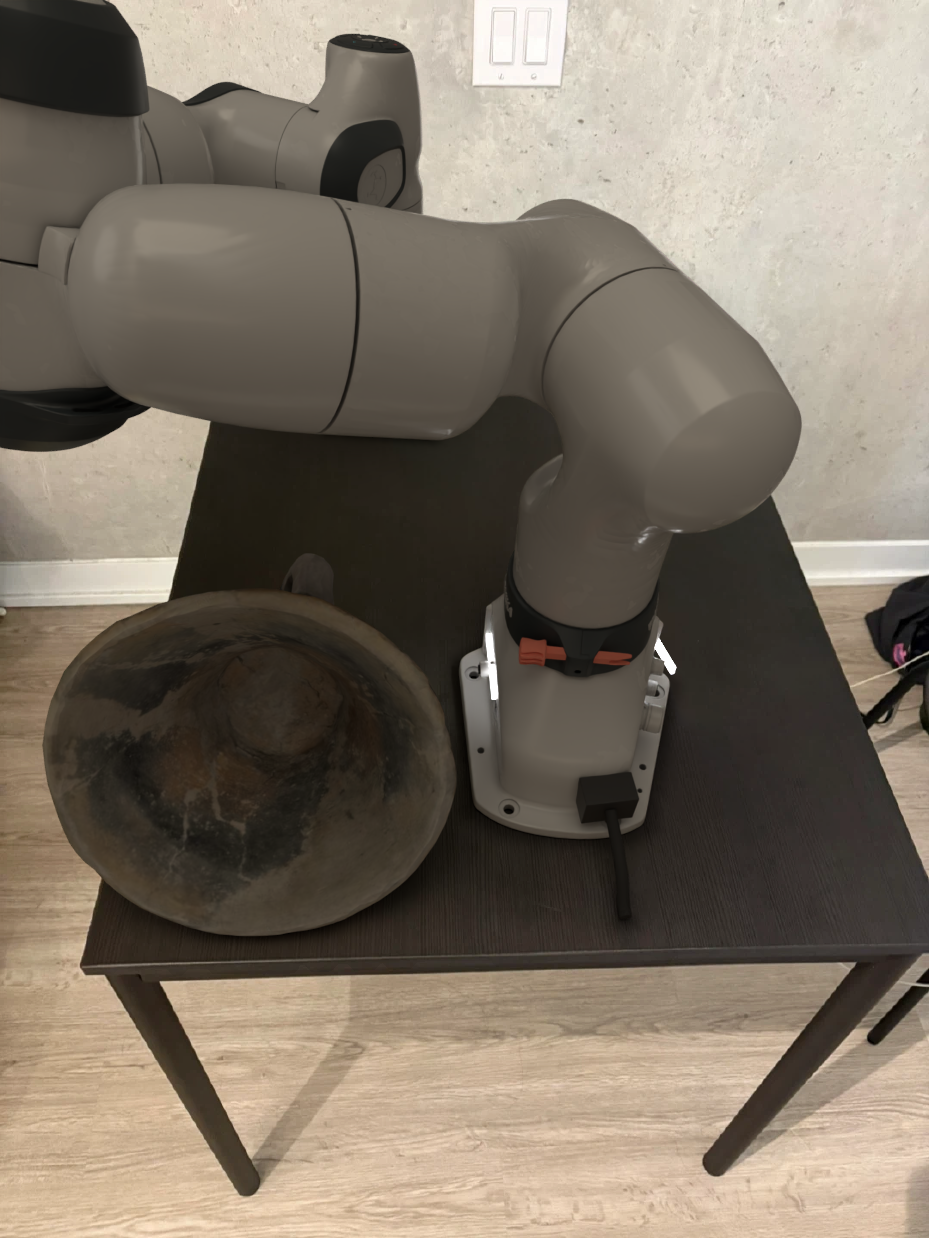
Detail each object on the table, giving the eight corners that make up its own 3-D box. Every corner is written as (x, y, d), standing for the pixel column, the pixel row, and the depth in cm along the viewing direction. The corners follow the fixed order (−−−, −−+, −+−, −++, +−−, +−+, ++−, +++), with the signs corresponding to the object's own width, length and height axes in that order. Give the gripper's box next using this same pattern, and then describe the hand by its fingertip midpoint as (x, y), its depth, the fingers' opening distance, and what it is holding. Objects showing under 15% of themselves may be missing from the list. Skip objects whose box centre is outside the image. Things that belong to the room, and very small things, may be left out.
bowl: (175, 857, 75) (125, 985, 61) (55, 577, 65) (-36, 653, 51) (474, 784, 75) (492, 896, 61) (397, 493, 65) (397, 546, 51)
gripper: (366, 174, 93) (373, 293, 103) (328, 271, 80) (341, 395, 90) (424, 179, 92) (425, 297, 103) (395, 276, 79) (400, 400, 90)
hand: (386, 344), depth 96 cm, fingers open, 8 cm apart
